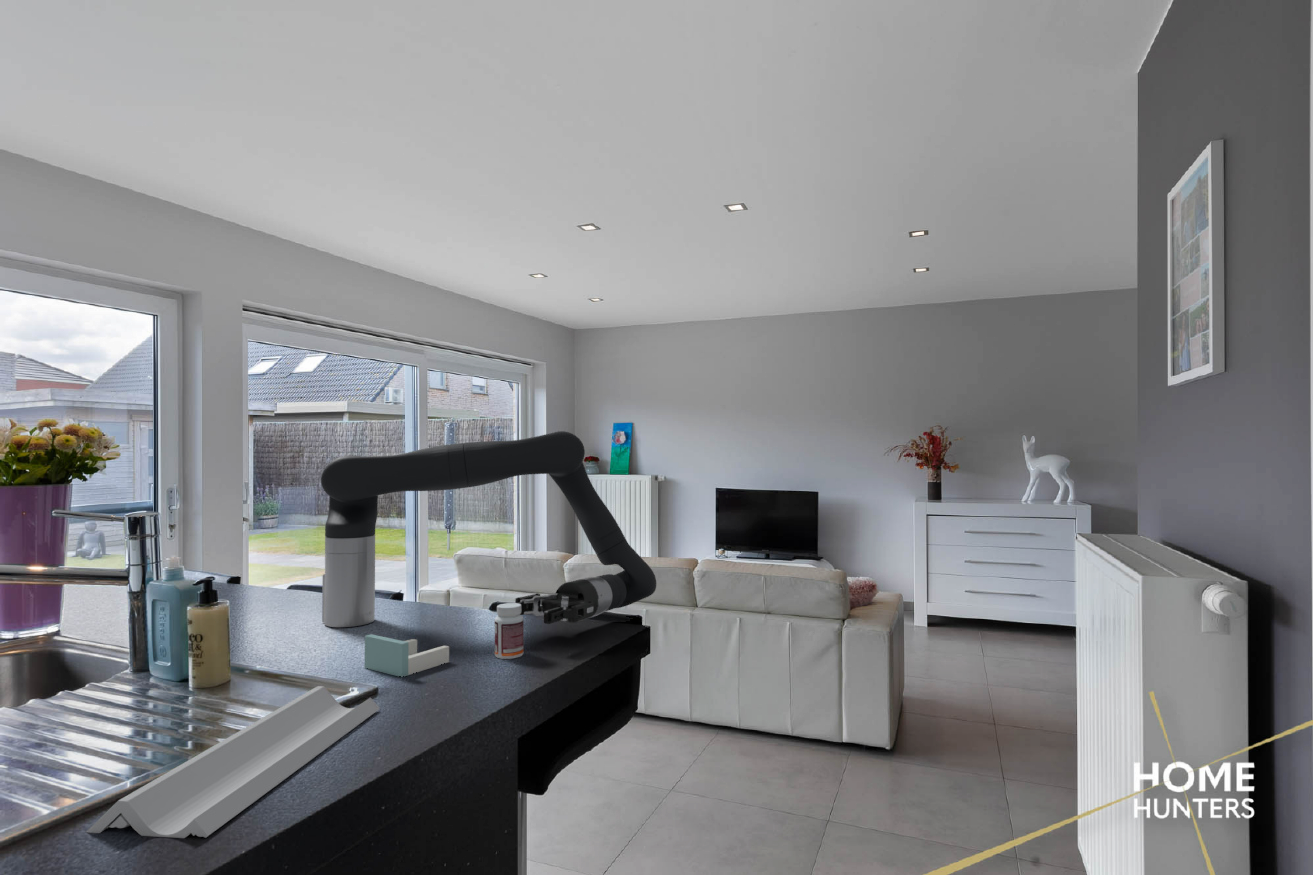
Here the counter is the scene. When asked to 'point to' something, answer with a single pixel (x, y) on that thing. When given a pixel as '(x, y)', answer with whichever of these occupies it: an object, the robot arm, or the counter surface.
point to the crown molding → (236, 769)
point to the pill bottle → (509, 631)
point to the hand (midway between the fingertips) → (526, 614)
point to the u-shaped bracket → (401, 656)
